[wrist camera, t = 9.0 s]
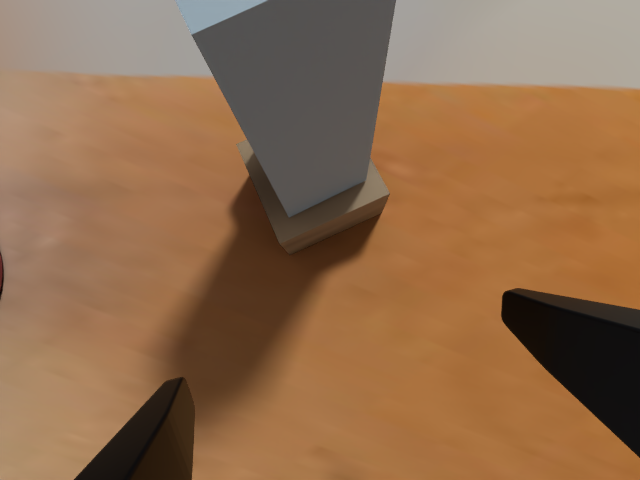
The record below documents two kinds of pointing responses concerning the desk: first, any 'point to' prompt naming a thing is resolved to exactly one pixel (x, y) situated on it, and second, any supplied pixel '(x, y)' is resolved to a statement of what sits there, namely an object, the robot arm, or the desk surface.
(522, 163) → the desk surface
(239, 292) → the desk surface
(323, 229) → the beige block
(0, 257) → the canister
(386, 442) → the desk surface
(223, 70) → the blue pillar
